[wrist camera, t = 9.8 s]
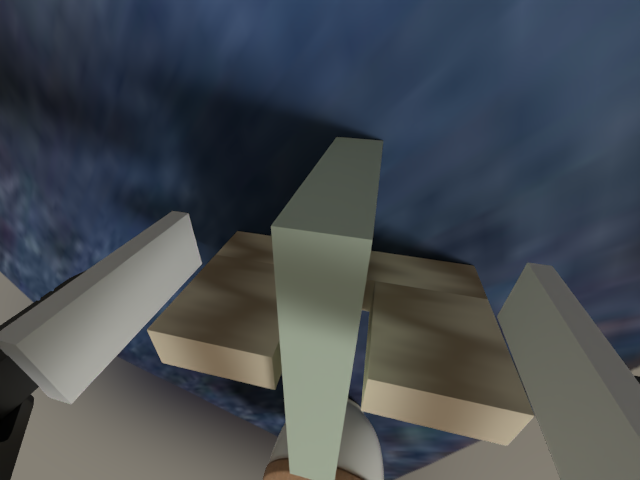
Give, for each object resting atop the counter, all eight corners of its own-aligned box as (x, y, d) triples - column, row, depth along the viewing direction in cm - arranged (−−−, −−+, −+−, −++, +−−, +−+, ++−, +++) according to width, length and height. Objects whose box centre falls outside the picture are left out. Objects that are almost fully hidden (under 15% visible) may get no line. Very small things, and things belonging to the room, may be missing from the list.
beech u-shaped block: (241, 258, 21) (162, 362, 14) (237, 230, 20) (146, 329, 13) (461, 295, 19) (507, 446, 11) (474, 265, 17) (534, 415, 10)
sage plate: (336, 137, 15) (270, 225, 7) (383, 140, 15) (372, 240, 6) (325, 331, 24) (289, 473, 16) (354, 336, 23) (333, 485, 15)
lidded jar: (283, 415, 34) (251, 520, 26) (296, 367, 28) (258, 484, 20) (369, 444, 33) (362, 562, 25) (401, 401, 27) (405, 538, 19)
